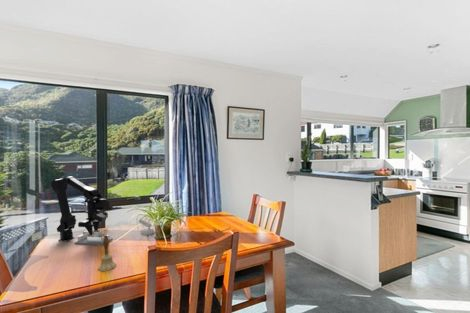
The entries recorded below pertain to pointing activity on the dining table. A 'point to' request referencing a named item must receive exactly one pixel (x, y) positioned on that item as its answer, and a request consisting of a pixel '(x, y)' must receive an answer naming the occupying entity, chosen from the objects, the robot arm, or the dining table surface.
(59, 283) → the dining table surface
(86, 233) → the frame
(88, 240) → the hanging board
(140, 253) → the dining table surface
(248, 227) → the dining table surface
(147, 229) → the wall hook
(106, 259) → the hand bell
